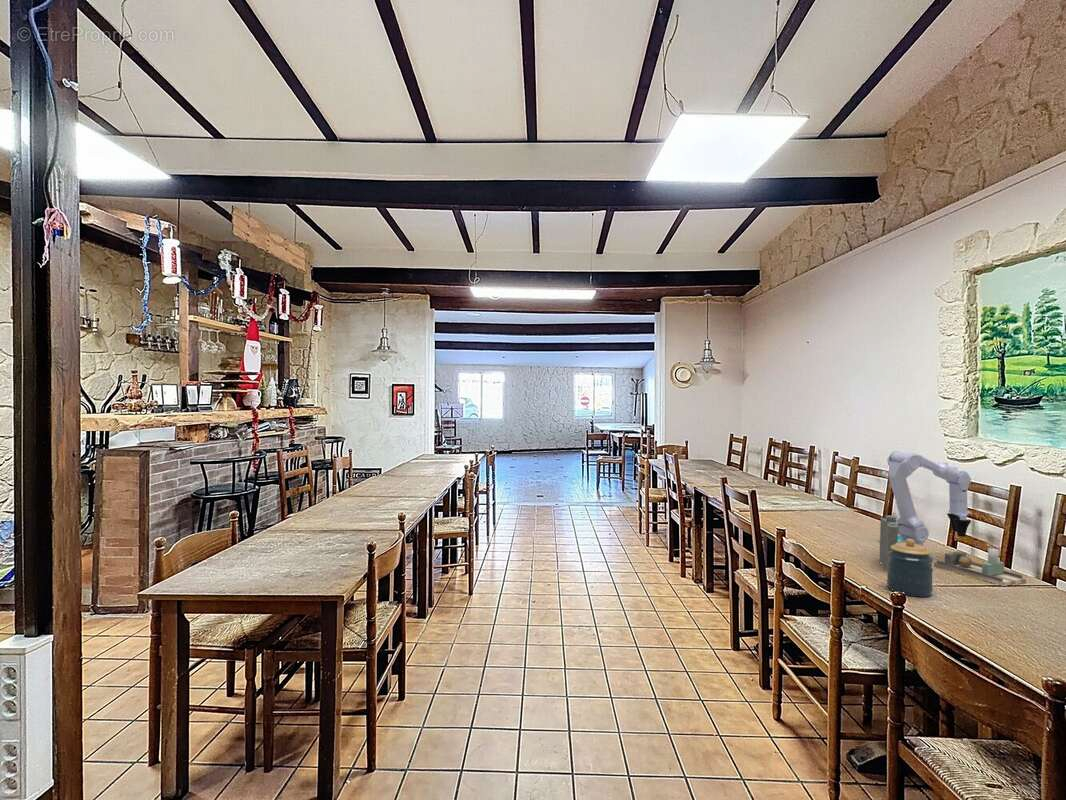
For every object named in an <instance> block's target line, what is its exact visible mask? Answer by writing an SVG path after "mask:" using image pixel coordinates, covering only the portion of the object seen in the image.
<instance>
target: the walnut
mask: <svg viewBox="0 0 1066 800" xmlns="http://www.w3.org/2000/svg"><path fill="white" fill-rule="evenodd" d="M972 562H973V561H972V559H971V557H969V556H967V555H966V556H962V557H960V558H959V563H960V564H961V565H962V566H964V567H969V566H971V565H972Z"/></svg>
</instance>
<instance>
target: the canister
mask: <svg viewBox="0 0 1066 800" xmlns="http://www.w3.org/2000/svg"><path fill="white" fill-rule="evenodd" d="M891 549H892V550H891V551H889V552H888V553H887V554H888V555H889V561H888V562H887V564H888V573H887V578H886V585H887V588H888V589H889V590H890V589H893V590H894V591H899V592H904V593H905V594H906V595H905V596H909V597H916V596H921V597H920V598H926V596H927V597H930V596H932V592H933V590H934V589H933V588H934V587H933V571H934V568H933V566H932V563H934V558H933V557H932V556H931V555H930V554H931V550H929V549H927V547H925V546H924V545H923V546H921V545H918V544H915V541H914V540H913V539H907V540H906V543H903V542H900V543H896V544H894V545H891ZM894 591H893V592H894ZM910 595H911V596H910Z"/></svg>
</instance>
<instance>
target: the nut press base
mask: <svg viewBox="0 0 1066 800" xmlns="http://www.w3.org/2000/svg"><path fill="white" fill-rule="evenodd" d="M962 556H967V553H966V552H964V551H954V552H946V553H945V552H944V560H942V561H941V560H936V561H933V567H935V566H936V567H935V568H938V567H940V568H939V569H941V568H943V569H942V570H945V569H946V571H948V570H950V571H949V572H952V571H954V572H953V573H955V572H957V573H956V574H958V573H961V574H960V575H962V574H965V575H968V576H967V577H969V576H972V577H976V578H979V579H982V580H986V581H989V582H992V583H991V584H993V583H995V584H994V585H996V584H998V585H997V586H999V585H1001V586H1000V587H1003V586H1006V587H1008V586H1007V585H1012V586H1014V585H1013V584H1018V583H1024V584H1026V583H1027V579H1026V578H1024V577H1023V575H1022V574H1018V573H1016V572H1011V571H1008V570H1005V569H1004V574H998V575H988V574H985V573H982V563H977V562H974V561H972V565H971V566H969V567H964V566H962V565H961V564H960V563H959V558H960V557H962ZM965 575H964V576H965ZM972 577H971V578H972ZM976 578H975V579H976ZM979 579H978V580H979ZM982 580H981V581H982ZM986 581H985V582H986ZM989 582H988V583H989ZM1018 585H1019V584H1018Z"/></svg>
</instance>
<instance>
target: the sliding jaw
mask: <svg viewBox="0 0 1066 800" xmlns="http://www.w3.org/2000/svg"><path fill="white" fill-rule="evenodd" d="M987 551H988V552H987V562H984V563H983V562H982V563H981V564H982V573H985V574H988V575H998V574H1004V570H1005V562H1003V561H1000V560H999V559H1000V557H999V556H1000V550H999V549H998V548H993V547H991V548H990V547H989V548H988V549H987Z"/></svg>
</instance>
